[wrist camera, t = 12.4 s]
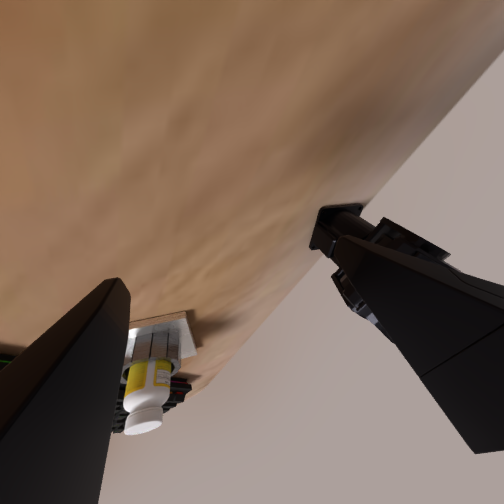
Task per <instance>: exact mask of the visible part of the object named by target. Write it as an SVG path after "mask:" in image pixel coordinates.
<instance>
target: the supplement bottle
mask: <svg viewBox="0 0 504 504" xmlns="http://www.w3.org/2000/svg"><path fill="white" fill-rule="evenodd" d="M170 377H171V362H169V361H166V360H148V361H145V362H141V363H137V364H134V365H132V366H131V367H130V371H129V376H128V381H127V386H126V391H125V396H124V402H123V407H124V409H125V410H126V411H127V412H130V415H129V416H128V417H127V420H126V423H125V430H124V433H125V434H126V435H135V434H140V433H144V432H148V431H151V430H153V429H155V428H157V427H159V426H160V425H161V424H162V418H163V408H161V406H162V405H163V404H164V403H165V402H166V401H167V400H168V398H169V394H170Z"/></svg>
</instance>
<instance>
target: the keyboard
mask: <svg viewBox="0 0 504 504" xmlns="http://www.w3.org/2000/svg"><path fill="white" fill-rule="evenodd" d="M16 357H17V356H12V355H5V354H0V371H1V370H2V369H3V368H5V367H6V366H7V365H8V364H9V363H10V362H11V361H13V360H14V359H15V358H16ZM126 386H127V384H122V383H120V387H119V392H118V398H117V403H116V409H115V414H114V419H113V425H112V430H111V432H112V431H113V433H121V432H122V431H123V430H125V423H126V420H127V417H128V416H129V415H130V412H127V411H126V410H125V409H124V407H123V402H124V396H125V391H126ZM191 390H192V387H191V384H188V383H187V379H181V378H173V377H170V394H169V398H168V400H167V401H166V402H165V403H164V404H163V405H162V406H161V408H163V413H165V412H167V411H169V409H170V408H173V407H176V405H177V403H181V402H184V398H185V395H186V393H188V392H189V391H191Z"/></svg>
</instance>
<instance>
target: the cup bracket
mask: <svg viewBox="0 0 504 504" xmlns="http://www.w3.org/2000/svg"><path fill="white" fill-rule="evenodd" d="M194 355H197V347H196V344H195V341H194V337H193V334H192V331H191V327H190V324H189V321H188V318H187V314H186V311H183V312H178V313H174V314H169V315H164V316H159V317H154V318H149V319H145V320H140V321H135V322H130V323H129V336H128V343H127V349H126V354H125V360H124V365H123V371H122V376H121V381H120V383H122V384H127V381H128V376H129V371H130V367H131V366H132V365H134V364H137V363H141V362H145V361H148V360H166V361H169V362H171V376H173V375H175V374H176V373H177V372H178V370H179V369H180V368H181V359H183V358H186V357H190V356H194Z"/></svg>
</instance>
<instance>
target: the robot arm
mask: <svg viewBox="0 0 504 504" xmlns="http://www.w3.org/2000/svg"><path fill="white" fill-rule="evenodd" d="M362 209H363V205H361V204H352V205H341V206H331V207H322V208H321V209H320V210H319V213H318V216H317V220H316V223H315V227H314V231H313V234H312V238H311V241H310V245H309V248H310V249H311V250H317V249H320V250H321V251H322V252H323V254H324V255H325V256H326V257H327V258H330V259H332V261H333V262H334V263H335V264H337V266H338V267H339V269H338V270H337V271H336V272H335V273H333V274H332V276H331V278H332V279H333V281H334V283H335V285H336V287H337V288H338V291H339V292H340V294H341V296H342V298H343V299H344V301H345V303H346V305H347V306H348V307H349V308H350V309H351V310H352V311H353V312H356V313H357V314H358V315H360V316H361V317H363V318H365V319H367V320H369V321H370V322H371V323H373V324H374V325H375V326H376V327H377V328H378V329H379V330H380V331H381V332H382V333H383V334H384V335H385V336H386V337H387V338H388V339H389V340H390V341H391V342H392V343H394V344H395V345H396V346H397V348H398V349H399V350H400V351H401V353H402V355H403V356H404V357H405V359H406V360H407V361H408V363H409V364H410V366H411V367H412V368H413V370H414V371H415V373H416V374H417V375H418V376H419V378H420V380H421V381H422V383H423V384H424V385H425V387H426V388H427V389H428V391H429V392H430V394H431V395H432V397H434V399H435V401H436V402H437V403H438V405H439V406H440V407H441V409H442V410H443V412H444V413H445V415H446V416H447V417H448V419H449V420H450V421H451V423H452V424H453V425H454V427H455V428H456V430H457V431H458V432H459V434H460V435H461V437H462V438H463V439H464V441H465V442H466V444H467V445H468V446H469V448H470V449H471V450H472V451H473V452H474V453H475V454H480V453H488V452H496V451H503V450H504V286H503V285H500V284H496V283H493V282H490V281H486V280H483V279H480V278H477V277H473V276H470V275H467V274H464V273H462V272H461V271H460V270H458V269H456V268H455V267H453V266H451V265H450V264H448V263H446V262H445V261H444V260H445V259H446V258H447V257H449V256H450V255H451V254H450V253H448V252H446V251H445V250H443V249H441V248H439V247H438V246H436V245H434V244H432V243H430V242H429V241H427V240H425V239H423V238H422V237H420V236H418V235H416V234H414V233H412V232H411V231H409V230H407V229H405V228H403V227H402V226H400V225H398V224H396V223H394V222H392V221H391V220H389V219H387V218H385V217H383V218H382V219H381V220H380V221H381V222H380V223H379V224H378V225H377V226H376V227H375V226H373V225H372V224H370V223H368V222H367V221H365V220H364V219H362V218H361V217H359V216H360V214H361V212H362ZM323 211H324V212H323ZM130 302H131V296H130V292H129V291H128V289H127V287H126V286H125V284H124V283H123V281H122V280H121V279H120V278H118V277H116V278H111V279H106V280H104V281H103V282H102V283H100V284H99V285H98V286H97V287H96V288H95V289H94V290H92V291H91V292H90V293H89V294H88V295H87V296H86V297H84V298H83V299H82V300H81V301H80V302H79V303H78V304H76V305H75V306H74V307H73V308H72V309H71V310H70V311H68V312H67V313H66V314H65V315H64V316H63V317H62V318H61V319H59V320H58V321H57V322H56V323H55V324H54V325H53V326H51V327H50V328H49V329H48V330H47V331H46V332H45V333H43V334H42V335H41V336H40V337H39V338H38V339H37V340H35V341H34V342H33V343H32V344H31V345H30V346H29V347H27V348H26V349H25V350H24V351H23V352H22V353H21V354H19V355H18V356H17V357H16V358H15V359H14V360H13V361H11V362H10V363H9V364H8V365H7V366H6V367H5V368H3V369H2V370H1V371H0V504H98V500H99V495H100V490H101V484H102V478H103V474H104V468H105V463H106V457H107V452H108V446H109V441H110V436H111V430H112V425H113V419H114V414H115V409H116V403H117V398H118V392H119V387H120V381H121V376H122V371H123V365H124V360H125V354H126V349H127V343H128V336H129V320H130Z"/></svg>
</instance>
